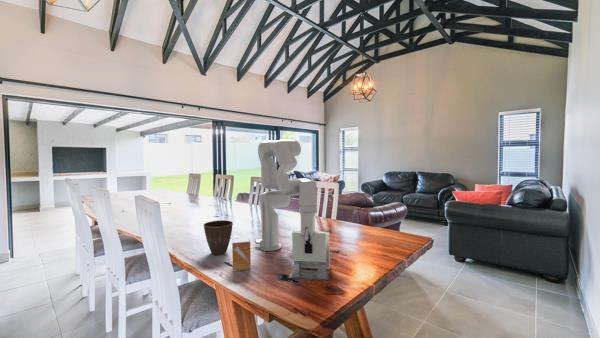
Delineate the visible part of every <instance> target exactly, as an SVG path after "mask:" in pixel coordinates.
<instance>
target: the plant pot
mask: <svg viewBox="0 0 600 338" xmlns="http://www.w3.org/2000/svg"><path fill="white" fill-rule="evenodd" d="M203 228H204V235H205V239H206V242H207V244H208V248H209V251H210V253H211V254H212V256H213V255H214V256H222V255H225V254H226V253H227V250H228V248H229V245H230V241H231V238H232V237H231V236H232V232H233V231H232V230H233V221H231V220H213V221H212V220H211V221H209V222H205V223H204V224H203Z"/></svg>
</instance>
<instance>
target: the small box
mask: <svg viewBox="0 0 600 338" xmlns="http://www.w3.org/2000/svg"><path fill="white" fill-rule="evenodd" d="M231 246H232V253H231V254H232V272H236V271H237V272H238V271H239V272H240V271H247V270H248V271H249V270H250V269H252V265H251V264H252V263H251V261H252V260H251V258H252V255H251V238H250V237H244V238H243V237H242V238H234V239H232V245H231Z"/></svg>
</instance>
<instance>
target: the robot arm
mask: <svg viewBox="0 0 600 338" xmlns="http://www.w3.org/2000/svg"><path fill="white" fill-rule="evenodd" d="M301 152H302V147H301V144H300V143H299V141H297V140H296V139H279V140H278V139H277V140H264V141H261V142H260V143H259V144H258V146H257V154H258V159H259V162H260V172H261V173H260V175H261V178H260V179H261V187H262V188H263V189H265V190H270V191H264V192H261V193H260V194H259V197H258V202H259V207H260V219H261V221H260V222H261V224H260V225H261V226H260V227H261V239H255V240H254V243H255V245H258V247H259V248H258V249H259V250H261V251H265V252H273V251H277V250H280V249H281V248H282V247H283V245H282V243H280V241H279V240H280V236H279V235H280V233H279V215H278V213H277V212H276V211H275V209H278V208H285V207H288V206H289V205H290V203H291V197H293V196H298V204H299V205H298V206H299V207H298V209H299V214H300V215H301V217H300V231H301V237H303V236H304V235H305V253H308V254H312V237H313V233H314V232H316V219H315V218H316V216H315V215H316V213H318V190H317V189H318V187H317V181H316V180H315V179H309V178H307V177H305V178H304V177H302V178H298V177H297V178H290V175H289V174H288V172H291V171H292V170H294V168H296V166H297V164H298V161H297V158H296V157H298V156H300V154H301ZM274 157H275V159H276V160H275V159H274ZM276 161H277V163H278V165H279V166H278V169H277V163H276ZM276 189H277V190H276ZM278 189H279V190H278ZM271 190H272V191H271ZM304 233H305V234H304ZM309 235H310V236H309ZM309 238H310V239H309Z"/></svg>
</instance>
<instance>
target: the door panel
mask: <svg viewBox="0 0 600 338" xmlns="http://www.w3.org/2000/svg"><path fill="white" fill-rule="evenodd" d="M326 233H327V232H326V231H315V232H314V233H313V237H312V254H308V253H305V235H304V236H303V237H301V230H300V231H299V230H296V231H294V230H293V231H292V232H291V240H292V241H291V243H292V244H291V245H292V247H291V249H292V261H293V262H294V261H313V262H326ZM304 234H305V233H304ZM309 236H310V235H309ZM309 239H310V238H309Z"/></svg>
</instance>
